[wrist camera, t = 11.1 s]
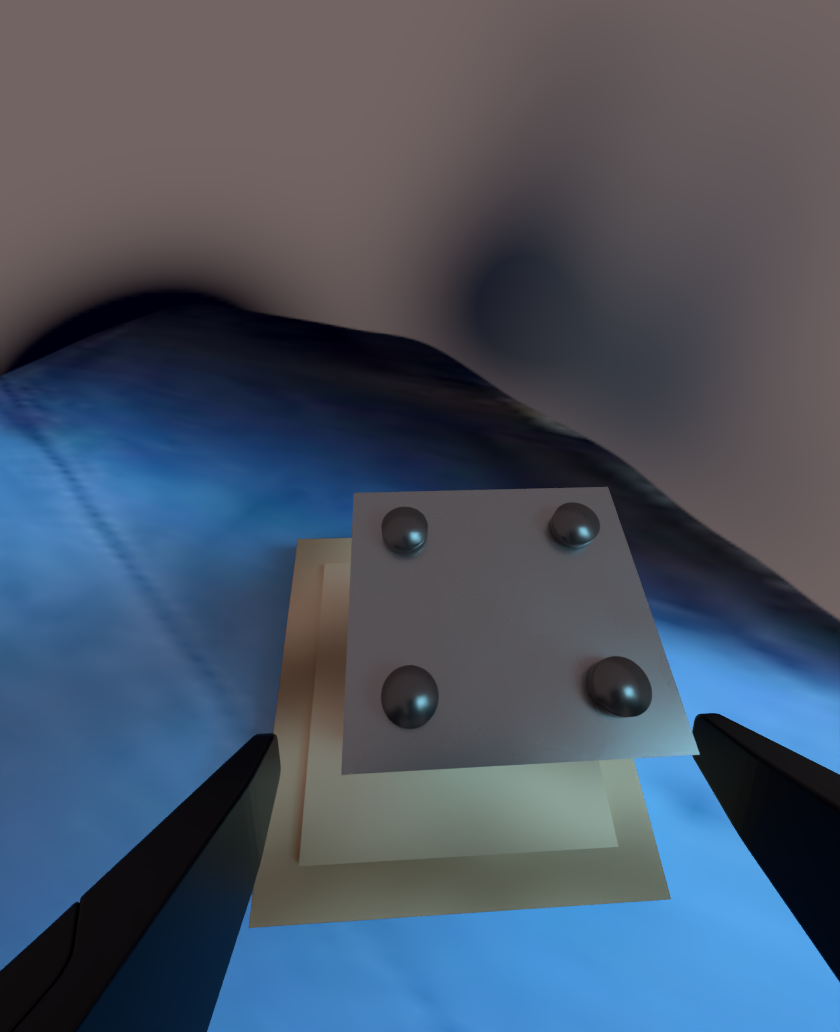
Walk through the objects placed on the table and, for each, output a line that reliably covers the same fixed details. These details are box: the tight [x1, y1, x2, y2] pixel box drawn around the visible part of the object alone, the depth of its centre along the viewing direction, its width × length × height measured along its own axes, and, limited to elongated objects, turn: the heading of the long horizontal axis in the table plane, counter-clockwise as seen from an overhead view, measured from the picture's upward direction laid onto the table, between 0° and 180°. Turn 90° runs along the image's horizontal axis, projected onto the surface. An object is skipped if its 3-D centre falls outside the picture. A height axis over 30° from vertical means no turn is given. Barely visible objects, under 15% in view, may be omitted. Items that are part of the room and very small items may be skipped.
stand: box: [249, 538, 671, 928], centre depth 17 cm, size 14×14×2 cm
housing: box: [341, 487, 700, 775], centre depth 12 cm, size 5×6×11 cm
